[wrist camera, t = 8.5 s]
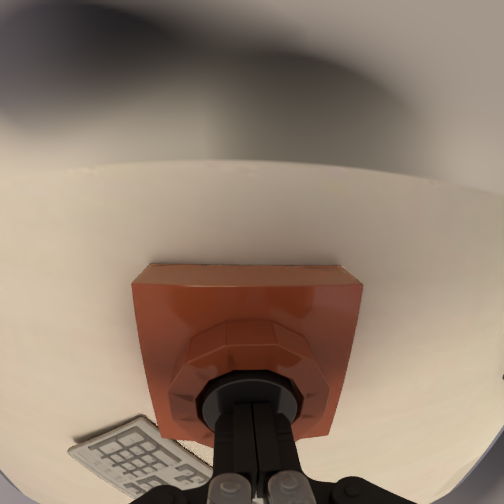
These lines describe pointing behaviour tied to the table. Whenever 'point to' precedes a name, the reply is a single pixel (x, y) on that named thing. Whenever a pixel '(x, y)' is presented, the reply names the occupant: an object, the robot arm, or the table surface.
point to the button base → (244, 336)
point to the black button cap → (248, 393)
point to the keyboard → (141, 460)
